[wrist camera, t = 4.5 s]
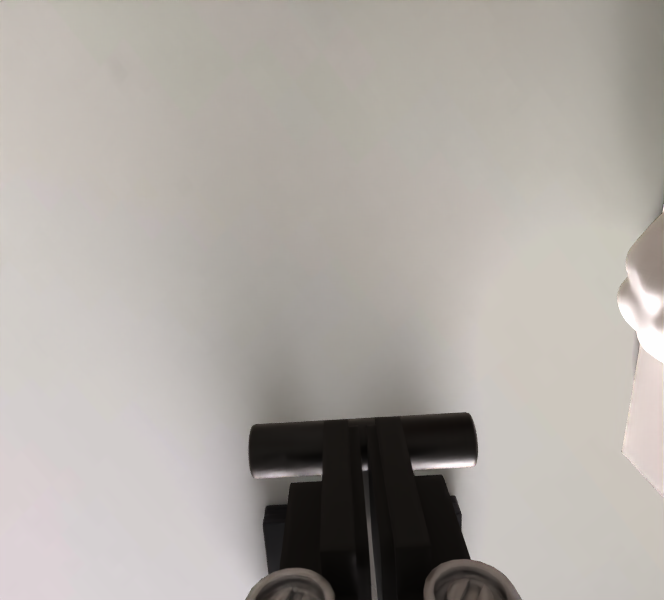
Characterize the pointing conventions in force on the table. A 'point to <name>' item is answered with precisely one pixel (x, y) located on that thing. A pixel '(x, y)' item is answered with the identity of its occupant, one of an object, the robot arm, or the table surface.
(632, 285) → the white figurine
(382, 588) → the robot arm
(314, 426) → the lever
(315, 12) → the table surface
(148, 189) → the table surface
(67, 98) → the table surface
